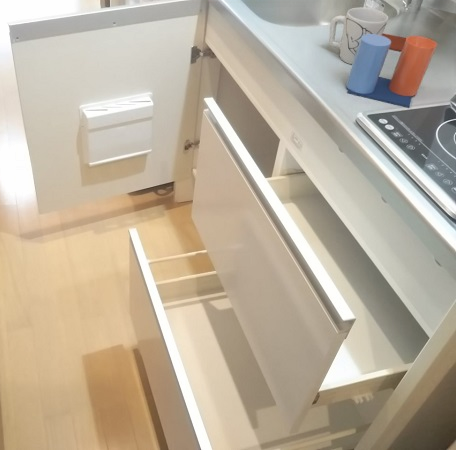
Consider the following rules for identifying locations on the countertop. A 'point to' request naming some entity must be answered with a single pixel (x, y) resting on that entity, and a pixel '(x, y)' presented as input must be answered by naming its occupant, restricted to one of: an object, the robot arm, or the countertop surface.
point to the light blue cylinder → (368, 63)
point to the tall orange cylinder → (412, 65)
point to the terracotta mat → (395, 42)
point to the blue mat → (385, 94)
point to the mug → (356, 29)
